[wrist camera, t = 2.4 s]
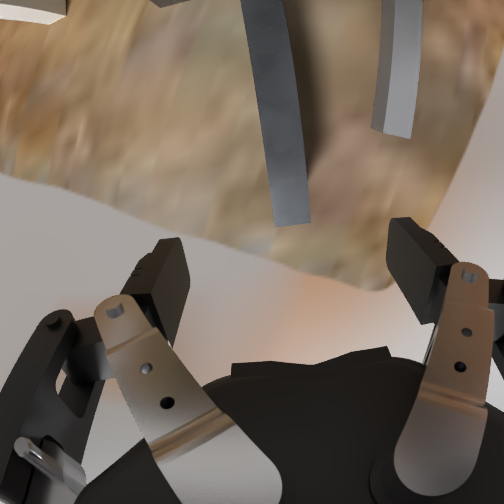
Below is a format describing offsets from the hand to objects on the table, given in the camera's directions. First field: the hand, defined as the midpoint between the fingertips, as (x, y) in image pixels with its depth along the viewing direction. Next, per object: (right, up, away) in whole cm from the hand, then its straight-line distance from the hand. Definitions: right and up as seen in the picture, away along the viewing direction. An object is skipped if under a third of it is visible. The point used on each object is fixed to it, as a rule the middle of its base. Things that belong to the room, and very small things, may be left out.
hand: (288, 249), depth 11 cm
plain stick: (+10, +19, +6) cm, 22 cm away
